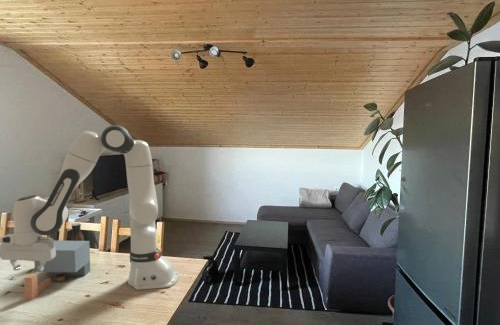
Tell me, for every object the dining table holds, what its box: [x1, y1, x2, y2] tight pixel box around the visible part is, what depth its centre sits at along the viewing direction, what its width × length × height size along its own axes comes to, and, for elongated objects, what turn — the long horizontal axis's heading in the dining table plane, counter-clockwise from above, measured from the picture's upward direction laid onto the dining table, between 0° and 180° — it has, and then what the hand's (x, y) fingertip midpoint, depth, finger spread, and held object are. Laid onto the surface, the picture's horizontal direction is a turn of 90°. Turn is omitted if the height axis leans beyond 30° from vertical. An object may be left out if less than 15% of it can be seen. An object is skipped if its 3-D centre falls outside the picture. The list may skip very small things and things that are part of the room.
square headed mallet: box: [23, 273, 52, 301], centre depth 124 cm, size 3×12×9 cm, turn 0°
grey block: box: [34, 240, 91, 277], centre depth 137 cm, size 18×12×15 cm, turn 90°
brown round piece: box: [53, 274, 66, 284], centre depth 134 cm, size 4×4×2 cm
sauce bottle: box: [69, 222, 85, 241], centre depth 154 cm, size 7×6×20 cm
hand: (28, 270), depth 119 cm, fingers open, 8 cm apart
